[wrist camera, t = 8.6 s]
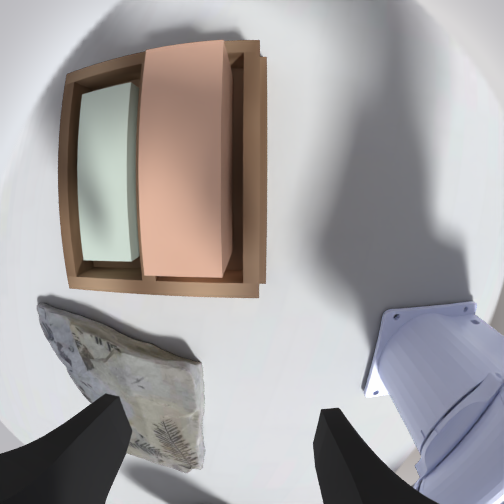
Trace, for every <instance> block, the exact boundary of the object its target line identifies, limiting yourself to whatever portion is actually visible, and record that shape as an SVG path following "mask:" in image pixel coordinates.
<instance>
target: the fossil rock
mask: <svg viewBox="0 0 504 504" xmlns="http://www.w3.org/2000/svg"><path fill="white" fill-rule="evenodd" d="M37 311H38V314H39V321H40V325H41V328H42V330H43V332H44V335H45V337H46V338H47V340H48V341H49V343H50V345H51V347H52V348H53V350H54V351H55V353H56V355H57V356H58V358H59V359H60V360H61V362H62V363H63V364H64V365H65V366H66V368H67V371H68V373H69V375H70V377H71V378H72V379H73V381H74V383H75V384H76V386H77V387H78V389H79V390H80V391H81V392H82V394H83V395H84V396H85V397H86V398H87V400H88V401H89V402H91V403H93V402H94V401H96V400H97V399H98V398H100V397H101V396H102V395H104V394H105V393H107V394H111V395H115V396H119V397H120V400H121V403H122V405H123V408H124V411H125V413H126V416H127V418H128V421H129V423H130V426H131V428H132V435H131V439H130V442H129V446H128V449H127V452H126V453H128V454H130V455H134V456H137V457H139V458H143V459H146V460H148V461H150V462H153V463H156V464H160V465H163V466H167V467H170V468H173V469H176V470H179V471H182V472H184V473H188V472H190V471H191V470H192V469H200V470H201V469H202V468H203V462H204V455H205V446H204V442H203V433H202V421H203V415H204V404H205V397H204V380H203V367H202V363H201V362H197V361H193V360H189V359H185V358H182V357H179V356H177V355H174V354H172V353H169V352H167V351H164V350H162V349H160V348H158V347H156V346H155V345H153V344H150V343H145V342H141V341H137V340H134V339H132V338H129V337H128V336H126V335H123V334H120V333H119V332H117V331H116V330H114V329H113V328H110V327H108V326H106V325H104V324H102V323H100V322H97V321H94V320H90V319H87V318H85V317H83V316H81V315H76V314H73V313H70V312H68V311H64V310H61V309H57V308H54V307H52V306H49V305H47V304H45V303H40V304H38V305H37Z"/></svg>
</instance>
